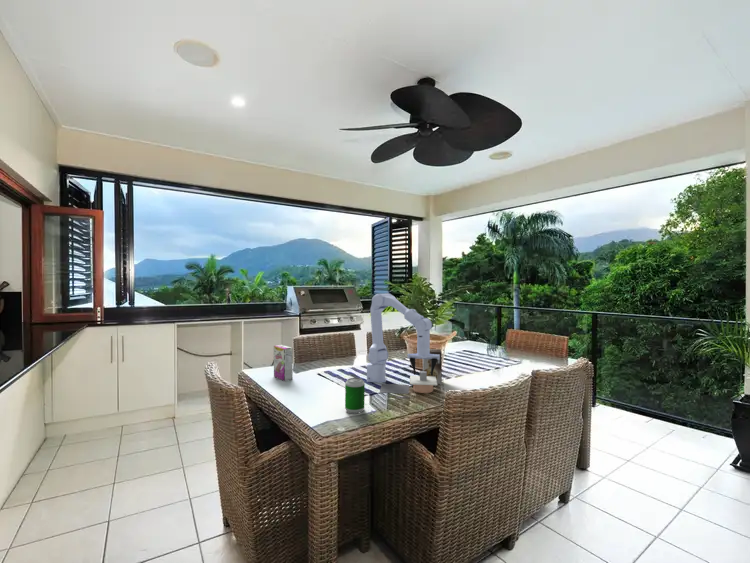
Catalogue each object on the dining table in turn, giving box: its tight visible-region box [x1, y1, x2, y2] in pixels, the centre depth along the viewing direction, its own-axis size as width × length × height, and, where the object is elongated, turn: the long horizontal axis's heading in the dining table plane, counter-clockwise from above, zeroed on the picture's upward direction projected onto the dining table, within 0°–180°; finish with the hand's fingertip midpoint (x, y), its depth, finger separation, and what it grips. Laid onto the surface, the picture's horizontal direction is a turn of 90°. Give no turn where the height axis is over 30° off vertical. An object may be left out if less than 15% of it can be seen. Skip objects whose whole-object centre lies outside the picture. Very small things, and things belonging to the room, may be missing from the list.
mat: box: [378, 383, 410, 394], centre depth 163 cm, size 13×13×1 cm
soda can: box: [344, 377, 366, 414], centre depth 136 cm, size 8×8×12 cm
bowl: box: [412, 384, 434, 394], centre depth 161 cm, size 9×9×4 cm
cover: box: [409, 370, 438, 386], centre depth 161 cm, size 12×12×4 cm
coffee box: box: [422, 348, 443, 386], centre depth 173 cm, size 9×6×16 cm
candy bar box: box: [273, 344, 294, 382], centre depth 180 cm, size 11×5×16 cm, turn 44°
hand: (423, 374), depth 161 cm, fingers open, 7 cm apart
